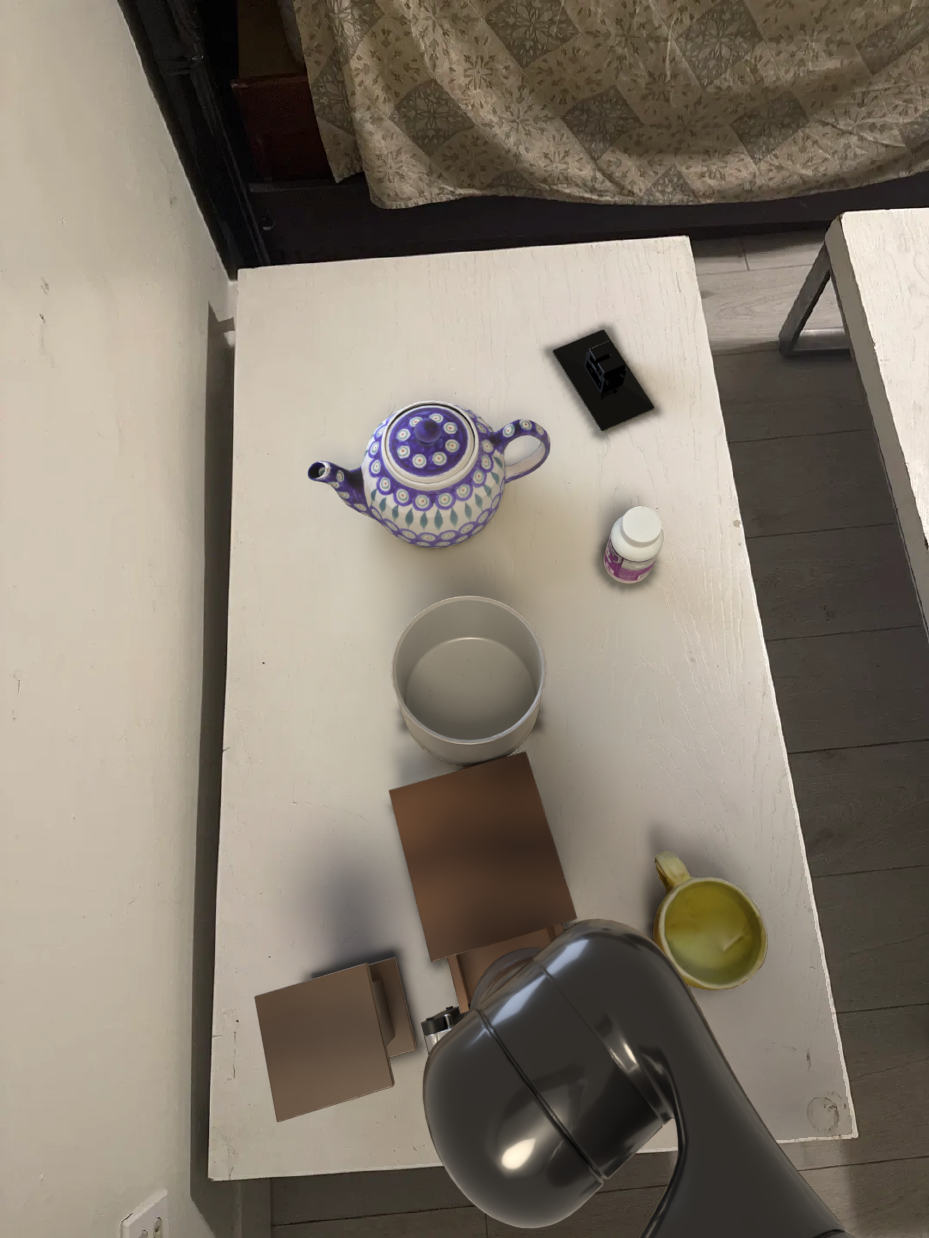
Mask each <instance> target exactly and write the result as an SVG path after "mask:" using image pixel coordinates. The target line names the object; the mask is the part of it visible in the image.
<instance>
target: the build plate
mask: <svg viewBox="0 0 929 1238" xmlns="http://www.w3.org/2000/svg"><path fill="white" fill-rule="evenodd" d="M552 355H553V356H554V358H555V359H556V361H557V363H558V364H559V366H560V367H561V369H562V371H563V373H564V375H566V378H567V379H568V380H569V382H570V384H571V385H572V388H573V389H574V391H575V392H576V393H577V395H578V397H579V399H580V400H581V401H582V404H583V405H584V406H585V408H586V410H587V411H588V413H589V415H590V416H591V418H592V419H593V422H594V423H595V424H596V426H597V427H598V429H599V431H600V432H602V433H603V432H606V431H608V430H611V429H612V428H615V427H618V426H620V425H622V424H625V423H627V422H629V421H631V420H634V419H636V418H638V417H640V416H643V415H646V414H648V413H650V412H652V411H654V409H655V405H654V403H653V402H652V401H651V399H650V398H649V396H648V395H647V393H646V392H645V389H643V387H642V386H641V384H640V382H639V380H638V379H637V378H636V376H635V375H634V372H633V371H632V370H631V368H630V367H629V365H628V364H627V362H626V360H625V359H624V357H623V356H622V353H620V351H619V350H618V348H617V346H616V345H615V342H614V340H613V339H612V337H611V336H610V334H609V333H608V332H606V330H605V329H600V330H598V331H596V332H593V333H590V334H589V335H586V336H583V337H581V338H578V339H576V340H573V341H571V342H569V343H567V344H564V345H561V346H560V347H557V348H554V349H553V350H552Z"/></svg>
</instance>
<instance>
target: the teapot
mask: <svg viewBox="0 0 929 1238" xmlns="http://www.w3.org/2000/svg"><path fill="white" fill-rule="evenodd" d="M523 436H531V437H533V438H535V439H537V440H538V441H539V442H540V443H539V445H538V447H537V449H536V450H535V451H534V452H532V454H531V455H530V456H529V457H527V458H525V459H524V460H521V461H519V462H516V463H514V464H511V465H506V460H505V451H506V449H507V447H508V446H509V444H510V443H511V442H512V441H514V440H517V439H518V438H520V437H523ZM550 453H551V438H550V435H549V433H548V432H547V430H546V429H545V428H544V427H543V426H541V425H540V424H538V423H537V422H536V421H533V420H531V419H524V418H522V419H516V420H513V421H511V422H509V423H508V424H506V425H504V426H503V427H502V428H500V429H499V430H497V431H494V429H493V428H492V427H491V425H489V424H488V423H487V422H486V421H485V420H484V419H483V418H482V416H480V415H479V414H477V413H476V412H475V411H473V410H471V409H469V408H467V407H465V406H462V405H459V404H456V403H452V402H449V401H442V400H433V399H432V400H420V401H418V402H414V403H410V404H409V405H406V406H405V407H403V408H400V409H398V410H397V411H395V412H393V413H392V414H391V415H389V416H388V417H387V418H386V419H384V420H383V421H382V422H381V423H379V424H378V425H377V427H376V428H375V430H374V431H373V432H372V435H371V437H370V439H369V441H368V443H367V446H366V449H365V451H364V456H363V460H362V462H361V465H359V467H357V468H354V469H346V468H344V467H342V466H340V465H338V464H336V463H334V462H331V461H327V460H319V461H318V460H317V461H315V462H313V463H311V465H310V466H309V467H308V469H307V474H306V475H307V478H308V479H309V480H310V481H314V482H318V483H322V484H327V485H329V486H330V487H331V488H332V489H333V490H334V491H335V493H336V494H337V495H338V497H339V498H340V499H341V501H343V503H344V504H345V505H346V506H347V507H349V508H351V509H352V510H354V511H355V512H357V513H359V514H361V515H364V516H366V517H368V518H371V519H373V520H375V521H376V522H378V523H379V524H380V525H381V526H382V527H384V529H385V530H386V531H388V532H389V533H390V534H391V535H393V536H395V537H396V538H397V539H399V540H401V541H402V542H403V541H404V542H406V543H407V544H409V545H413V546H416V547H421V548H428V549H429V548H430V549H441V548H448V547H452V546H456V545H460V543H461V544H462V543H463V542H466V541H467V540H469V539H471V538H472V537H474V536H475V535H478V533H480V532H482V530H483V529H484V528H485V527H486V526H487V525H488V524H489V522H490V521H491V520H492V519H493V517H494V516H495V515H496V514H497V511H498V508H499V507H500V503H501V501H502V498H503V496H504V490H505V485H506V484H509V483H511V482H512V481H515V480H519V479H521V478H524V477H525V476H528V475H530V474H531V473H533V472H535V471H536V470H538V469H539V468H541V466H542V465H543V464H545V462H546V460H547V459H548V457H549V455H550Z"/></svg>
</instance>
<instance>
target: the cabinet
mask: <svg viewBox="0 0 929 1238" xmlns="http://www.w3.org/2000/svg"><path fill="white" fill-rule="evenodd" d="M388 794H389V799H390V803H391V807H392V810H393V815H394V819H395V822H396V826H397V830H398V834H399V838H400V842H401V846H402V850H403V853H404V854H403V856H404V858H405V863H406V867H407V871H408V875H409V879H410V883H411V887H412V891H413V895H414V899H415V903H416V906H417V907H416V908H417V911H418V915H419V920H420V923H421V927H422V931H423V936H424V940H425V943H426V948H427V951H428V955H429V959H430V960H429V961H430V963H434V962H437V961H441V960H445V959H447V958H448V957H451V956H455V955H458V954H461V953H465V952H468V951H471V950H475V949H478V948H481V947H485V946H488V945H491V944H495V943H498V942H501V941H505V940H508V939H511V938H515V937H518V936H521V935H525V934H528V933H531V932H535V931H538V930H541V929H545V928H548V927H551V926H555V925H558V924H561V923H562V924H564V923H567V922H571V921H575V920H578V914H577V913H576V909H575V906H574V901H573V899H572V895H571V892H570V889H569V886H568V883H567V880H566V877H565V874H564V870H563V866H562V863H561V860H560V856H559V853H558V850H557V847H556V844H555V840H554V837H553V834H552V831H551V827H550V825H549V821H548V818H547V815H546V811H545V808H544V804H543V801H542V799H541V795H540V792H539V788H538V785H537V782H536V778H535V776H534V772H533V769H532V765H531V763H530V760H529V756H528V753H527V751H522V752H518V753H514V754H510V755H508V756H507V757H504V758H500V759H497V760H493V761H490V762H486V763H483V764H479V765H475V766H472V767H468V768H465V769H463V768H462V769H458V770H454V771H452V772H451V771H450V772H448V773H444V774H441V775H437V776H434V777H433V776H432V777H430V778H427V779H423V780H419V781H416V782H412V783H409V784H405V785H401V786H398V787H394V788H391V789H388Z"/></svg>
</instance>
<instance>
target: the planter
mask: <svg viewBox="0 0 929 1238" xmlns="http://www.w3.org/2000/svg"><path fill="white" fill-rule="evenodd" d="M545 653H546V652H545V649H544V647H543V643H542V641H541V639H540V637H539V635H538V633H537V631H536V629H534V627H533V626H532V625H531V623H530V622H529V621H528V620H527V618H525V617H524V616H523V615H522V614H521V613H520V612H518V611H517V610H515V609H514V608H513V607H511V606H509V605H508V604H505V603H504V602H501V601H499V600H496V599H494V598H492V597H491V598H490V597H485V596H480V595H458V596H452V597H449V598H444V599H442V600H440V601H437V602H434V603H433V604H431V605H429V606H428V607H425V608H424V609H422V610H421V611H420V612H419V613H418V614H416V615H415V616H414V617H413V618H412V619H411V620H410V621H409V622H408V623H407V625H406V626H405V627H404V629H403V630H402V632H401V633H400V635H399V637H398V639H397V641H396V644H395V647H394V650H393V653H392V657H391V659H392V660H391V670H390V672H391V673H390V677H391V682H392V687H393V691H394V694H395V698H396V700H397V704H398V706H399V709H400V712H401V714H402V717H403V721H404V722H405V723H404V724H405V726H406V728H407V729H408V732H409V733H410V735H411V736H412V738H413V739H414V741H415V742H416V743H417V744H418V745H419V746H420V748H421V749H423V750H424V751H425V752H427V753H428V754H429V755H430V756H432V757H434V758H436V759H437V760H438V761H441V762H444V763H446V764H449V765H453V766H459V767H462V769H465V768H468V767H472V766H475V765H479V764H483V763H486V762H490V761H493V760H497V759H500V758H504V757H507V756H511V755H512V754H513V753H514V752H515V751H517V750H518V749H519V748H520V747H521V746H522V745H523V744H524V742H525V741H526V740H527V739H528V737H529V736H530V734H531V733H532V731H533V729H534V726H535V725H536V722H537V718H538V714H539V711H540V708H541V707H540V706H541V703H542V699H543V694H544V690H545V687H546V684H547V683H546V682H547V669H548V668H547V659H546V654H545Z"/></svg>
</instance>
